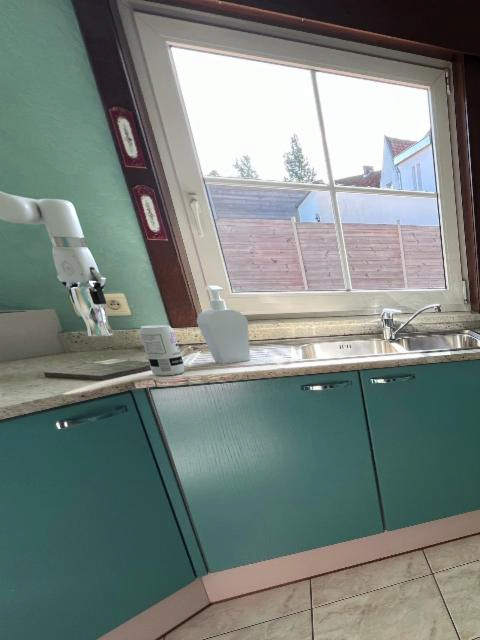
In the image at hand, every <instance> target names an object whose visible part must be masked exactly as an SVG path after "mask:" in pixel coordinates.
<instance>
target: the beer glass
mask: <svg viewBox="0 0 480 640" xmlns="http://www.w3.org/2000/svg"><path fill="white" fill-rule="evenodd" d="M90 291H92V290H91V289H90V287H89V286H79V287H71V292H72V296H73V299H74V302H75V304H74V305H75V307H76V309H77V311H78V313H79V314H80V316H81V318H82V320H83V321H84V323H85V325H86V330H87V336H88V337H93V338H94V337H98V338H99V337H109V336H114V335H115V334H114V331H113V329H112V328H111V326H110V323H109V320H108V311H107V310H108V309H107V305H106V304H107V303H106V304H99V305H96V304H94V301H93V298H92V295H91V292H90Z"/></svg>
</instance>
